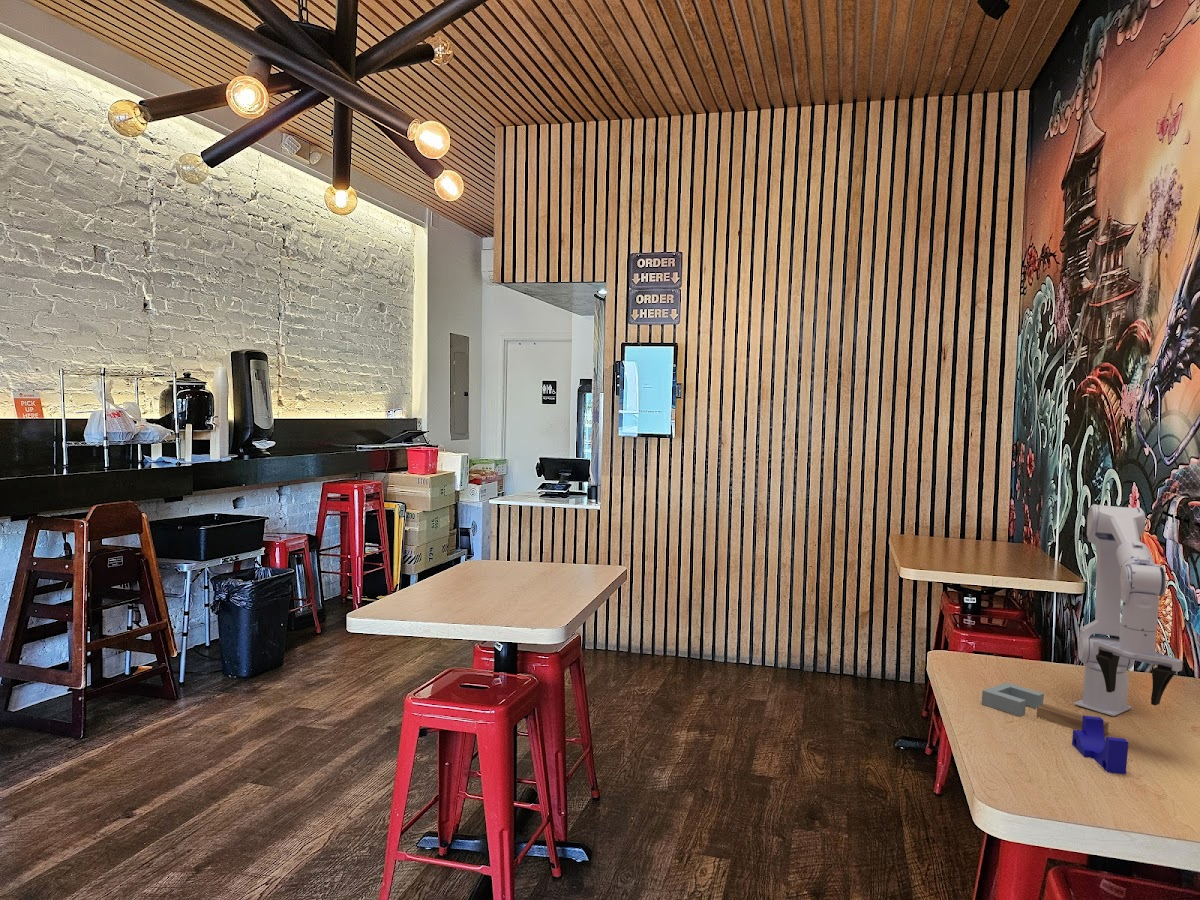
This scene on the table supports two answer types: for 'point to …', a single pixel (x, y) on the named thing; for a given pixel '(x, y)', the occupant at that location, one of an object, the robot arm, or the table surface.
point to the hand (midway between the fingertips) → (1132, 697)
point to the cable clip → (1101, 745)
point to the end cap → (1011, 698)
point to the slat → (1064, 717)
